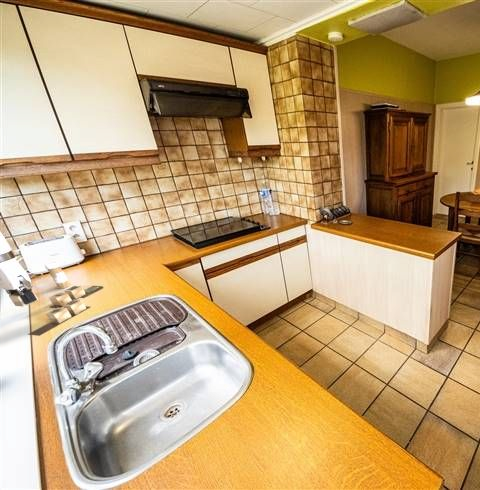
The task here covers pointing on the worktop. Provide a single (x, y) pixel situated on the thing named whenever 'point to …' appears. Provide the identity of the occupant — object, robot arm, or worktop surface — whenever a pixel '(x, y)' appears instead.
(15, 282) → the robot arm
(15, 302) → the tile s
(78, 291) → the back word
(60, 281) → the sprinkles bottle
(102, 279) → the worktop surface
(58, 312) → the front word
